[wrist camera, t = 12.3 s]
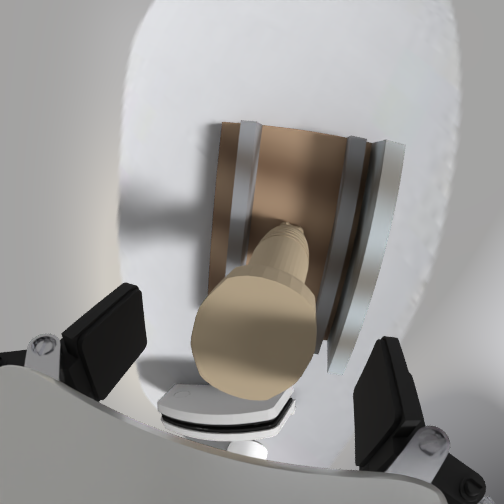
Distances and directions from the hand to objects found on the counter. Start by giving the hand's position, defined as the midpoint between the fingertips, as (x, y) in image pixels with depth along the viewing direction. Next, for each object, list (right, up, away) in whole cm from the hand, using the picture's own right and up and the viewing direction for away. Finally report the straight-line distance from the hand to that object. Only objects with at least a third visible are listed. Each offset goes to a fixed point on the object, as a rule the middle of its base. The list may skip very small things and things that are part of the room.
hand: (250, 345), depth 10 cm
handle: (+3, +5, +15) cm, 16 cm away
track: (+4, +5, +16) cm, 17 cm away
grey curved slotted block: (-3, -15, +24) cm, 29 cm away
